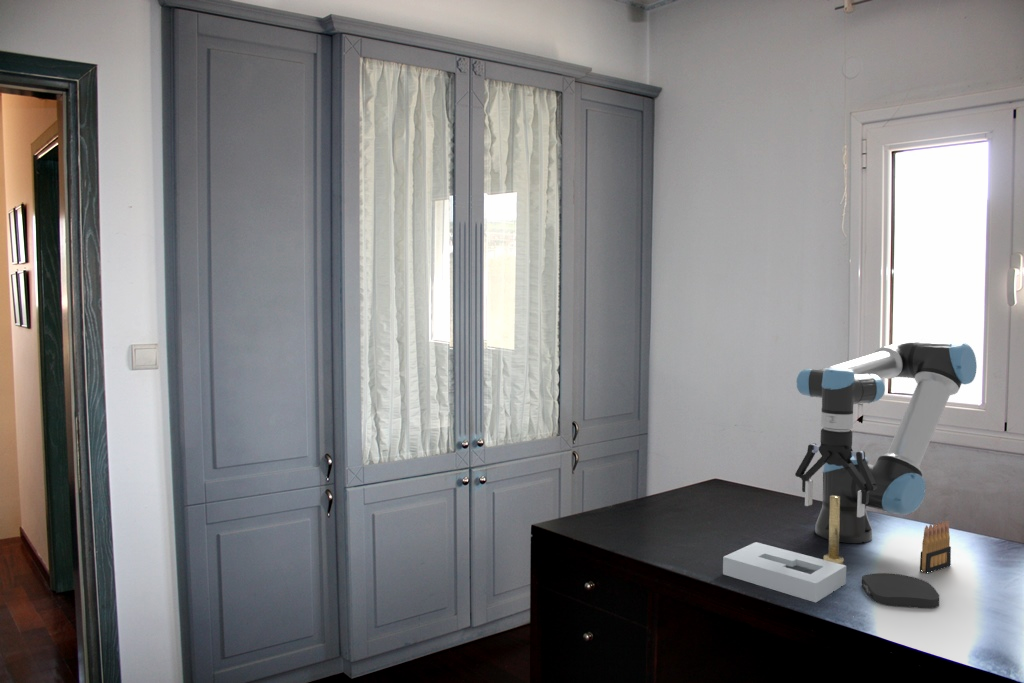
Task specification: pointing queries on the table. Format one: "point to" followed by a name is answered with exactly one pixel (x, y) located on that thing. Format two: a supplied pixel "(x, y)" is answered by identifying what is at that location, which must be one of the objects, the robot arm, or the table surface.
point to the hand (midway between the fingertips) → (833, 510)
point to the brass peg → (834, 532)
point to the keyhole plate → (785, 571)
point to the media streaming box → (900, 590)
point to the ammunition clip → (935, 547)
